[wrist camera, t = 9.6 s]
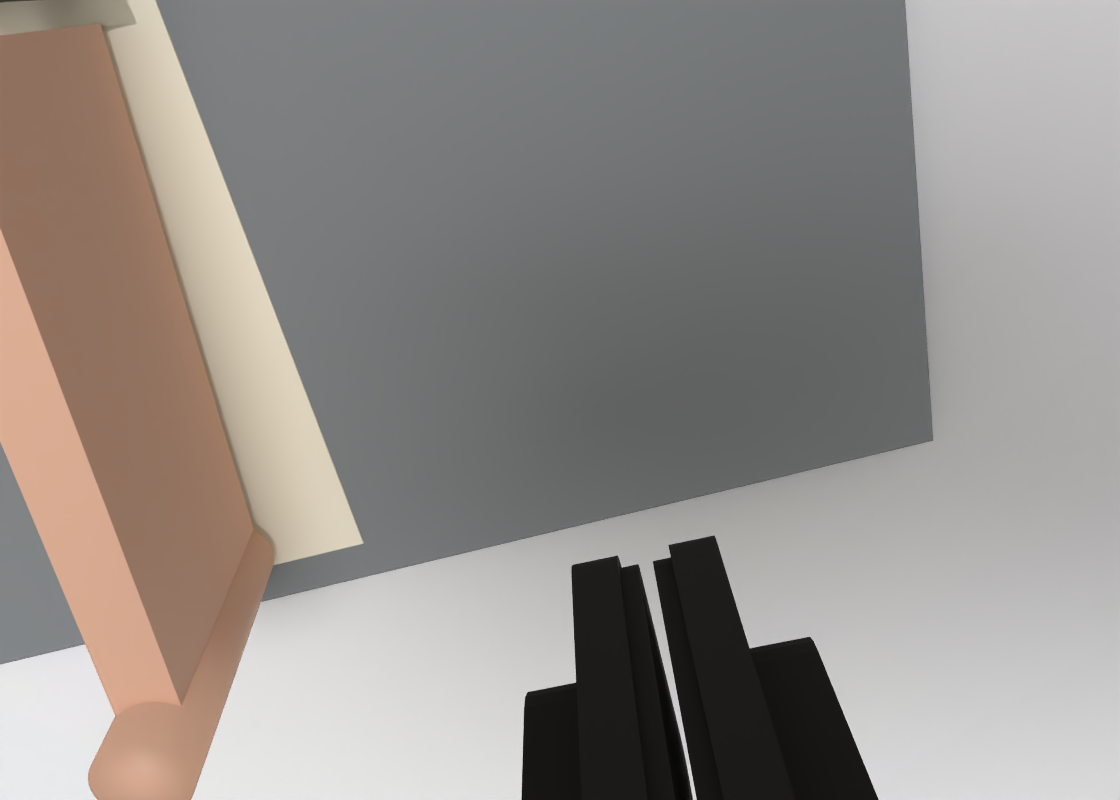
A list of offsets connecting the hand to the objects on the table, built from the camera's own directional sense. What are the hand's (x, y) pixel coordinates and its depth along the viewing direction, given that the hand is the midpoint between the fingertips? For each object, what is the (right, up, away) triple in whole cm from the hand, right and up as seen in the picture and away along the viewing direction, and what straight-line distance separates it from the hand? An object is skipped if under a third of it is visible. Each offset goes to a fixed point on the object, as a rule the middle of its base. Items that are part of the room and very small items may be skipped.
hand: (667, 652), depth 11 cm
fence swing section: (-10, +4, +10) cm, 14 cm away
